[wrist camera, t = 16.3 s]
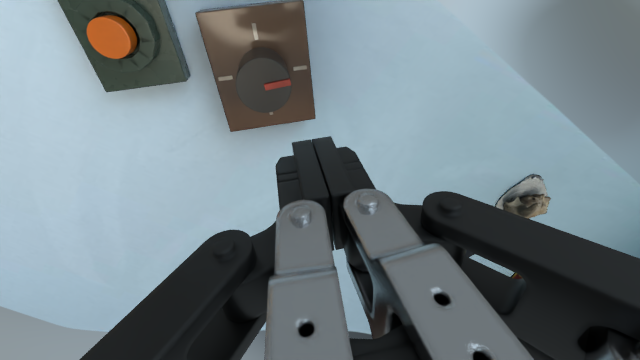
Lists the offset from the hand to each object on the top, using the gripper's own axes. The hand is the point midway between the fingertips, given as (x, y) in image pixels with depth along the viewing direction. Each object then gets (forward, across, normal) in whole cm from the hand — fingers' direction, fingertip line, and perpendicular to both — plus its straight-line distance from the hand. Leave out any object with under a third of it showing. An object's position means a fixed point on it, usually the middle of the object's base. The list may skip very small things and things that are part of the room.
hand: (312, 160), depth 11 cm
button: (+21, +14, -3) cm, 26 cm away
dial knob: (+22, +2, +2) cm, 22 cm away
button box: (+25, +14, -3) cm, 29 cm away
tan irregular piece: (+25, -40, +32) cm, 57 cm away
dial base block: (+25, +2, +2) cm, 25 cm away
